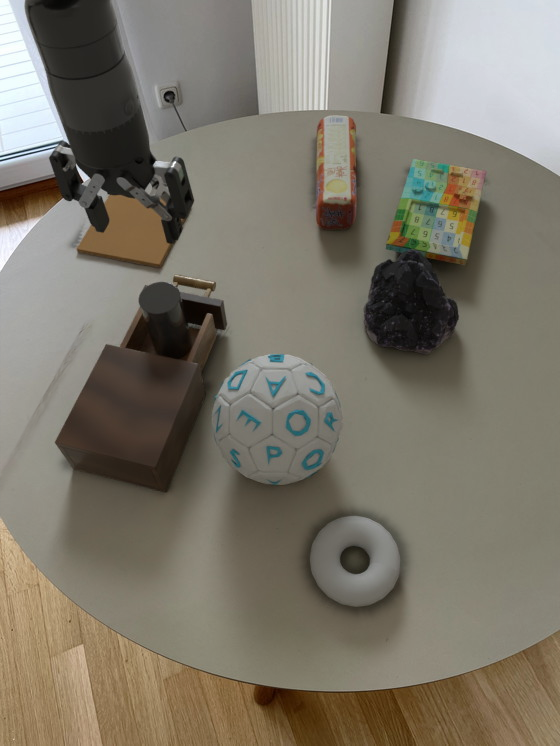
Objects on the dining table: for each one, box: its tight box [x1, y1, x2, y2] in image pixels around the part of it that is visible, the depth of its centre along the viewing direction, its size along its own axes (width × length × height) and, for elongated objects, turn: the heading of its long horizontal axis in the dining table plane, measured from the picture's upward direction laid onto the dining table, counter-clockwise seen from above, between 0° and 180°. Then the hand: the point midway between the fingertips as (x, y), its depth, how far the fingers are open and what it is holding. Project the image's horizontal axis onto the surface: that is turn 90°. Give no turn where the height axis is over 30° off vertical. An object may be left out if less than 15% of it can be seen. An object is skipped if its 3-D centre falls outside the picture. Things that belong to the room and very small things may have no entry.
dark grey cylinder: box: [138, 281, 192, 359], centre depth 85 cm, size 5×5×10 cm
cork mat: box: [76, 195, 186, 269], centre depth 104 cm, size 14×14×1 cm
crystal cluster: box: [363, 249, 460, 355], centre depth 88 cm, size 13×14×10 cm
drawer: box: [119, 273, 228, 374], centre depth 88 cm, size 18×11×5 cm, turn 164°
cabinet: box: [54, 343, 207, 493], centre depth 81 cm, size 15×13×7 cm
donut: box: [309, 515, 402, 608], centre depth 72 cm, size 10×4×10 cm
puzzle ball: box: [211, 353, 343, 486], centre depth 75 cm, size 15×15×15 cm
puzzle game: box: [385, 158, 487, 266], centre depth 100 cm, size 12×5×20 cm
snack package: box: [315, 114, 358, 231], centre depth 105 cm, size 21×7×7 cm, turn 177°
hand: (138, 232), depth 73 cm, fingers open, 8 cm apart
